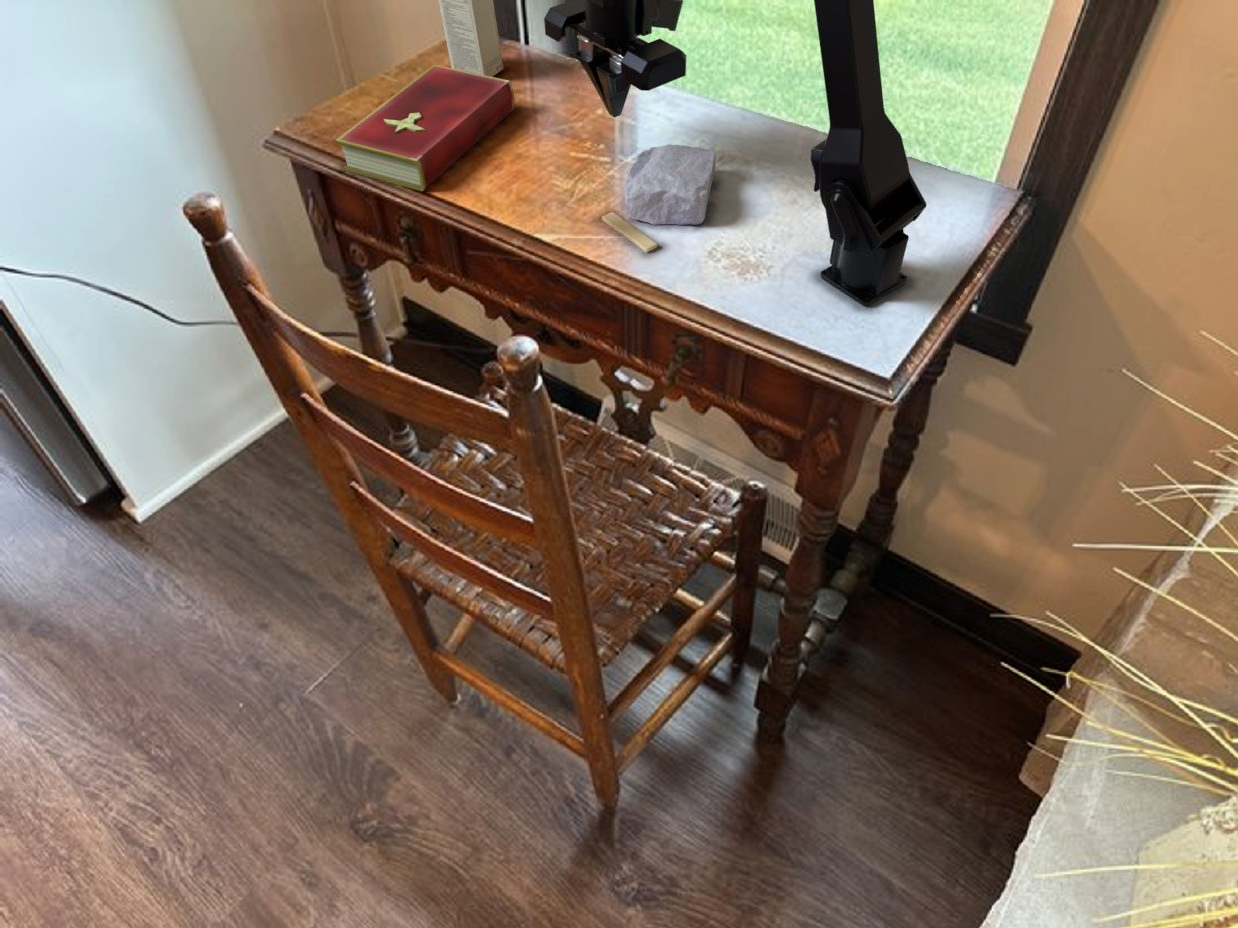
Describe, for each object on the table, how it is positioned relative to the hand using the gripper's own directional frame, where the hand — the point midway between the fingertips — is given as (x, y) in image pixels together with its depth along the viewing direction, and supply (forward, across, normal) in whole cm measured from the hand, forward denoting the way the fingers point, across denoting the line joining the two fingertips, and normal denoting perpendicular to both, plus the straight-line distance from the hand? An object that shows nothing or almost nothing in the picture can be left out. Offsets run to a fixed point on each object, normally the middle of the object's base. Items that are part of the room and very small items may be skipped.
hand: (615, 115), depth 107 cm
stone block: (+6, -10, 0) cm, 12 cm away
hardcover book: (+6, +19, +15) cm, 25 cm away
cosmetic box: (+6, +31, +1) cm, 32 cm away
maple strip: (+6, -13, +8) cm, 16 cm away
